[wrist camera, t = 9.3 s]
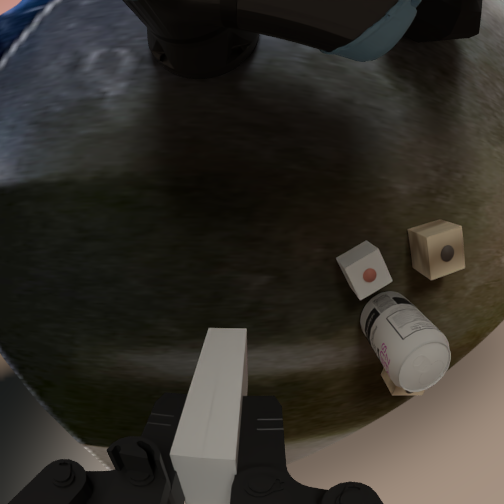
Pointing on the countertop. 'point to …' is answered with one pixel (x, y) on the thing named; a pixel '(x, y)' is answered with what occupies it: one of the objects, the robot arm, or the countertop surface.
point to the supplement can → (405, 341)
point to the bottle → (445, 20)
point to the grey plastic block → (364, 269)
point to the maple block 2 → (437, 248)
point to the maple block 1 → (395, 389)
